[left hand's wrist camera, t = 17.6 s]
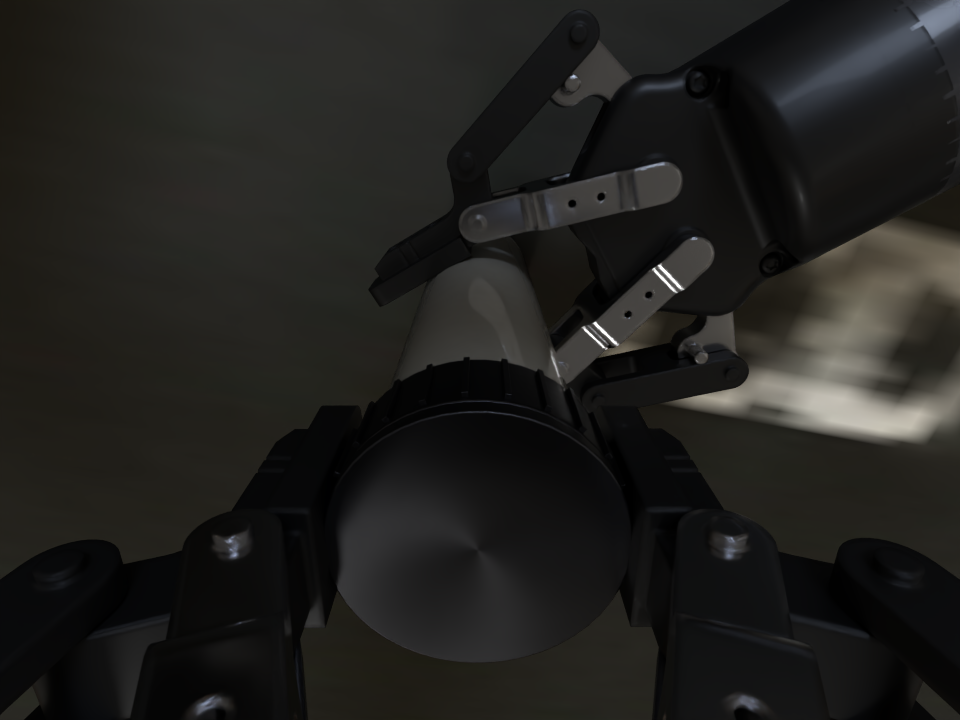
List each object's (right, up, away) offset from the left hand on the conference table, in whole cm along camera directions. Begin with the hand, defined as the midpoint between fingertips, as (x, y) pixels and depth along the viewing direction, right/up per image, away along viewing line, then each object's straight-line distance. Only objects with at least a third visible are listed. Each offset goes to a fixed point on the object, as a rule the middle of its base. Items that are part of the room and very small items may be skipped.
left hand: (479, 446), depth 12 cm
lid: (0, -1, -3) cm, 3 cm away
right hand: (-2, +2, +9) cm, 10 cm away
